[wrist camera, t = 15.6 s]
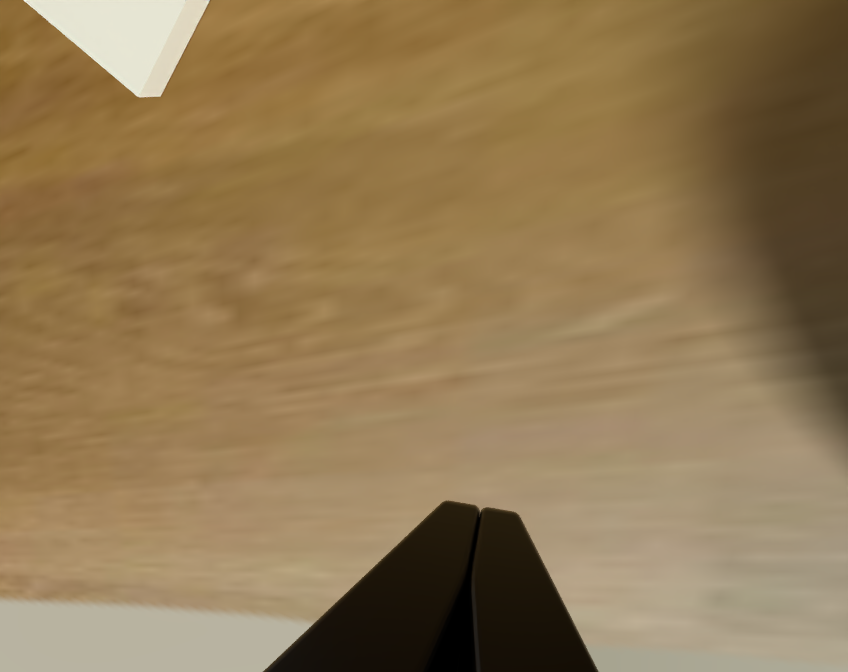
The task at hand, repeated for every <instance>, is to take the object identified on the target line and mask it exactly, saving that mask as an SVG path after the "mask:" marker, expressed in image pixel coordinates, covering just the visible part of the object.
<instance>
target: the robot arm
mask: <svg viewBox="0 0 848 672" xmlns="http://www.w3.org/2000/svg"><path fill="white" fill-rule="evenodd" d="M263 672H598V670H597V668H596V666H595V664H594V662H593V660H592V658H591V656H590V654H589V652H588V650H587V648H586V646H585V644H584V642H583V640H582V638H581V636H580V634H579V632H578V630H577V628H576V626H575V624H574V622H573V620H572V618H571V616H570V614H569V612H568V610H567V609H566V607H565V605H564V603H563V601H562V599H561V597H560V595H559V593H558V591H557V589H556V587H555V585H554V583H553V581H552V579H551V577H550V575H549V573H548V571H547V569H546V567H545V565H544V563H543V561H542V559H541V557H540V555H539V553H538V551H537V549H536V547H535V545H534V543H533V541H532V539H531V537H530V535H529V533H528V531H527V529H526V528H525V526H524V524H523V522H522V520H521V518H520V516H519V515H518V514H517V513H516V512H512V511H507V510H501V509H495V508H489V507H486V508H483V509H482V510H481V513H480V510H479V508H478V507H477V506H476V505H471V504H466V503H460V502H454V501H444V502H442V503H441V504H440V505H439V506H438V507H437V508H436V509H435V510H434V511H433V512H432V513H430V514H429V515H428V516H427V517H426V518H425V519H424V520H423V521H422V522H421V523H420V524H419V525H418V526H417V527H416V528H415V529H414V530H413V531H411V532H410V533H409V534H408V535H407V536H406V537H405V538H404V539H403V540H402V541H401V542H400V543H399V544H398V545H397V546H396V547H395V548H393V549H392V550H391V551H390V552H389V553H388V554H387V555H386V556H385V557H384V558H383V559H382V560H381V561H380V562H379V563H378V564H377V565H376V566H374V567H373V568H372V569H371V570H370V571H369V572H368V573H367V574H366V575H365V576H364V577H363V578H362V579H361V580H360V581H359V582H358V583H356V584H355V585H354V586H353V587H352V588H351V589H350V590H349V591H348V592H347V593H346V594H345V595H344V596H343V597H342V598H341V599H340V600H338V601H337V602H336V603H335V604H334V605H333V606H332V607H331V608H330V609H329V610H328V611H327V612H326V613H325V614H324V615H323V616H322V617H320V618H319V619H318V620H317V621H316V622H315V623H314V624H313V625H312V626H311V627H310V628H309V629H308V630H307V631H306V632H305V633H304V634H303V635H301V636H300V637H299V638H298V639H297V640H296V641H295V642H294V643H293V644H292V645H291V646H290V647H289V648H288V649H287V650H286V651H285V652H284V653H282V654H281V655H280V656H279V657H278V658H277V659H276V660H275V661H274V662H273V663H272V664H271V665H270V666H269V667H268V668H267V669H265V670H264V671H263Z"/></svg>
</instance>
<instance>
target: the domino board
mask: <svg viewBox="0 0 848 672" xmlns="http://www.w3.org/2000/svg"><path fill="white" fill-rule="evenodd" d="M24 1H25V2H26V3H27V4H29V5H30V6H31V7H32V8H33V9H35V10H36V11H37V12H38V13H39V14H40V15H42V16H43V17H44V18H45V19H46V20H48V21H49V22H50V23H51V24H52V25H54V26H55V27H56V28H57V29H58V30H59V31H61V32H62V33H63V34H64V35H65V36H67V37H68V38H69V39H70V40H71V41H72V42H74V43H75V44H76V45H77V46H78V47H80V48H81V49H82V50H83V51H84V52H85V53H87V54H88V55H89V56H90V57H91V58H93V59H94V60H95V61H96V62H97V63H99V64H100V65H101V66H102V67H103V68H104V69H106V70H107V71H108V72H109V73H110V74H112V75H113V76H114V77H115V78H116V79H117V80H119V81H120V82H121V83H122V84H123V85H125V86H126V87H127V88H128V89H129V90H130V91H132V92H133V93H134V94H135V95H136V96H138V97H161V95H162V93H163V91H164V89H165V87H166V85H167V83H168V81H169V79H170V77H171V75H172V73H173V71H174V69H175V67H176V65H177V63H178V61H179V59H180V58H181V56H182V54H183V52H184V50H185V48H186V46H187V44H188V42H189V40H190V38H191V36H192V34H193V32H194V30H195V28H196V26H197V24H198V22H199V21H200V19H201V17H202V15H203V13H204V11H205V9H206V7H207V5H208V3H209V1H210V0H24Z"/></svg>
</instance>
